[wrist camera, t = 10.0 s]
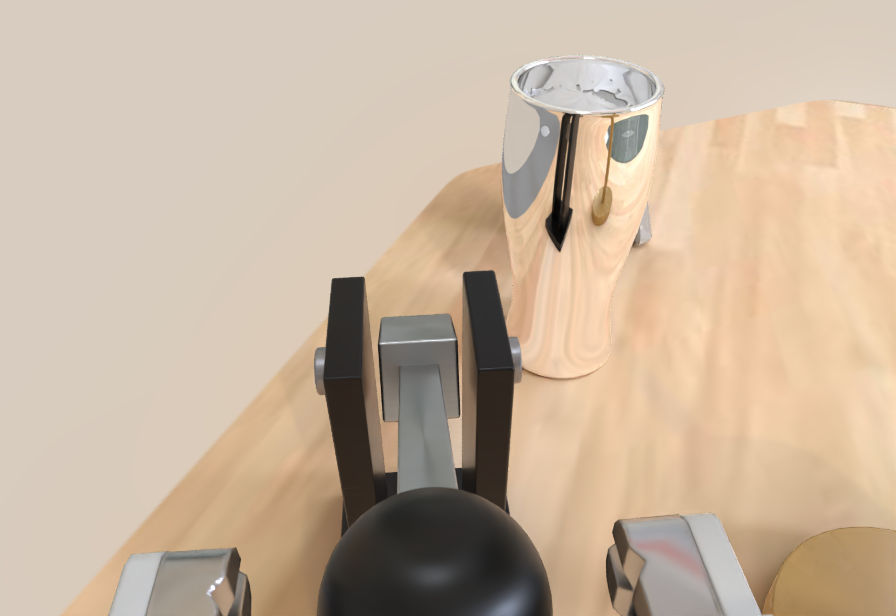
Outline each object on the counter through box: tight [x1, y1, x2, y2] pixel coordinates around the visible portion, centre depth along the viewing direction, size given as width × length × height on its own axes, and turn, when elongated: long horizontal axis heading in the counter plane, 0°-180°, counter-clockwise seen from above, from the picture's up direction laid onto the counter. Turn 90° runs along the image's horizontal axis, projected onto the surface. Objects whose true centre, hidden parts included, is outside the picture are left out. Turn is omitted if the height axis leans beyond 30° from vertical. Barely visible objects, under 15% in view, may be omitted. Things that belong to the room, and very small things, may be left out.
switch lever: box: [317, 314, 553, 616], centre depth 15 cm, size 14×3×3 cm, turn 4°
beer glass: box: [501, 55, 664, 379], centre depth 35 cm, size 7×7×15 cm
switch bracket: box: [314, 270, 522, 538], centre depth 24 cm, size 9×7×14 cm
